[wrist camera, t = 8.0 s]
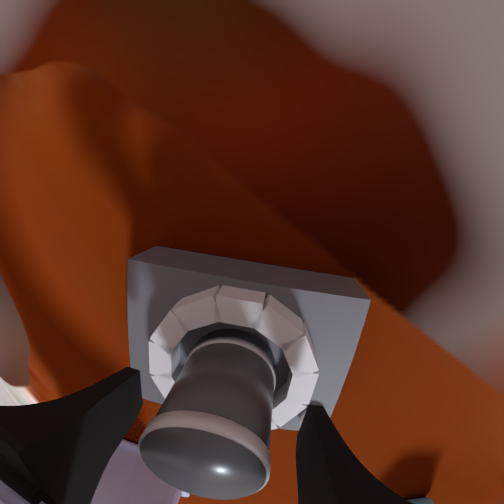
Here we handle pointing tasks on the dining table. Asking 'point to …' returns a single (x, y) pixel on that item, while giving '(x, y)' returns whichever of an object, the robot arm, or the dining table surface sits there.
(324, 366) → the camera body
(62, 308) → the dining table surface
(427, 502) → the data package
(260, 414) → the lens
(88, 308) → the dining table surface
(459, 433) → the dining table surface
